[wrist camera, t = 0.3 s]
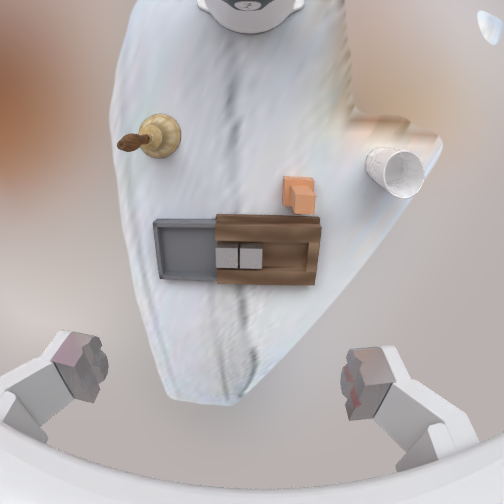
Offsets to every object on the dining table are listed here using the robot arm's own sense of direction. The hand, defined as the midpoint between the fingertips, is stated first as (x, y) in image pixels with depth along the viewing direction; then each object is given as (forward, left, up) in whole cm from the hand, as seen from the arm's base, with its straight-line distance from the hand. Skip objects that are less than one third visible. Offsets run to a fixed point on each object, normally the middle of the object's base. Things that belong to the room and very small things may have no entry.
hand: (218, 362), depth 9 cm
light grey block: (+17, 0, -45) cm, 48 cm away
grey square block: (+17, -4, -45) cm, 48 cm away
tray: (+17, -12, -46) cm, 50 cm away
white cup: (-1, +24, -46) cm, 52 cm away
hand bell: (-5, -17, -46) cm, 49 cm away
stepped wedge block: (+5, +8, -46) cm, 47 cm away
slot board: (+17, +3, -46) cm, 49 cm away
